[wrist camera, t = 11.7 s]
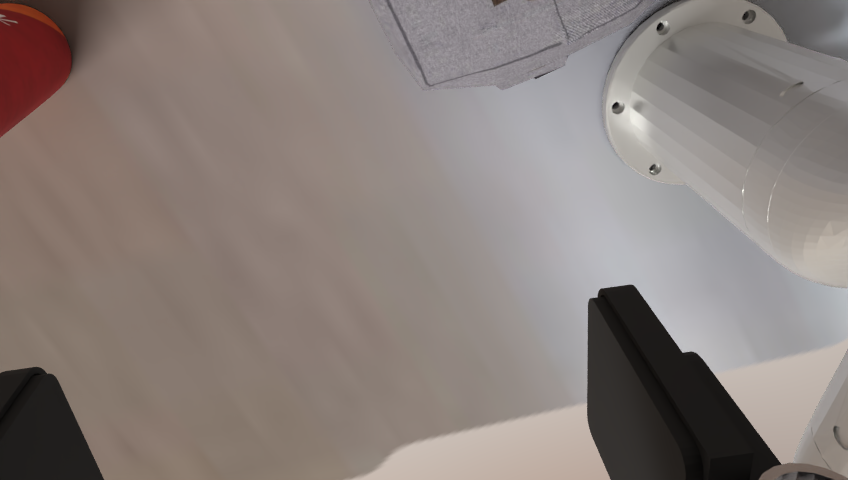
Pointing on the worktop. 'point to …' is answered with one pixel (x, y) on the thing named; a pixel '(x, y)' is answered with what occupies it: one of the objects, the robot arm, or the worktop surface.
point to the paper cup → (29, 62)
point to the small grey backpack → (495, 36)
